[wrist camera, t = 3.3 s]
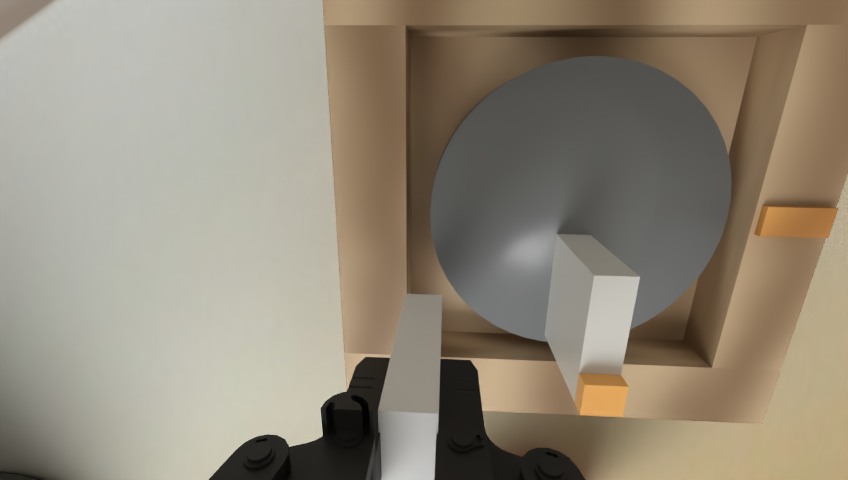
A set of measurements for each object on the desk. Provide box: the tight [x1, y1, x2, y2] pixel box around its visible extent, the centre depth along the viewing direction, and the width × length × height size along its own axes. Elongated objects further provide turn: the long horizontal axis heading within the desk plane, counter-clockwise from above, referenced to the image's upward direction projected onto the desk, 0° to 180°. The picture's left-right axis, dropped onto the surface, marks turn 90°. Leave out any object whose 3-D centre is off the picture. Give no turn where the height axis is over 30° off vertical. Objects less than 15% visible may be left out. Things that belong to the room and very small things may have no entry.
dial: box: [430, 56, 732, 417], centre depth 15 cm, size 12×12×7 cm
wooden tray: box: [323, 0, 848, 424], centre depth 18 cm, size 20×20×4 cm
